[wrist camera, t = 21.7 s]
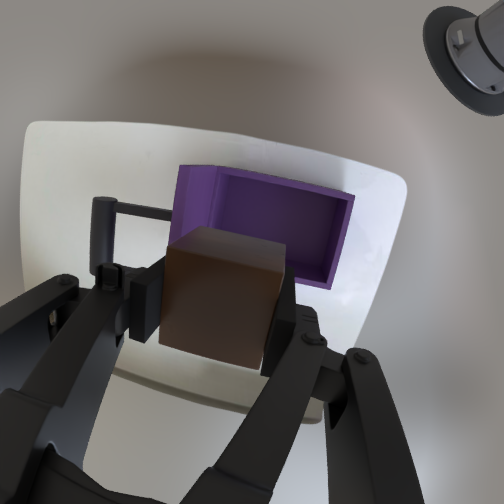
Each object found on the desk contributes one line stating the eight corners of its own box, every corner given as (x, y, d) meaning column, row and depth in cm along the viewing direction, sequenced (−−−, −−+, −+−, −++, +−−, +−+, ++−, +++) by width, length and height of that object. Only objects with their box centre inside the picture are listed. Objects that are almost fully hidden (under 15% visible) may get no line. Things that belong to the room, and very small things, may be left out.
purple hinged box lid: (192, 166, 18) (83, 153, 17) (170, 341, 21) (78, 318, 21) (217, 165, 36) (157, 156, 35) (201, 262, 39) (144, 252, 38)
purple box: (343, 191, 42) (355, 195, 35) (323, 271, 46) (330, 290, 38) (227, 166, 43) (215, 165, 36) (213, 247, 47) (199, 261, 39)
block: (286, 244, 17) (284, 273, 12) (266, 322, 18) (258, 371, 13) (199, 224, 17) (166, 245, 12) (188, 302, 18) (158, 343, 14)
